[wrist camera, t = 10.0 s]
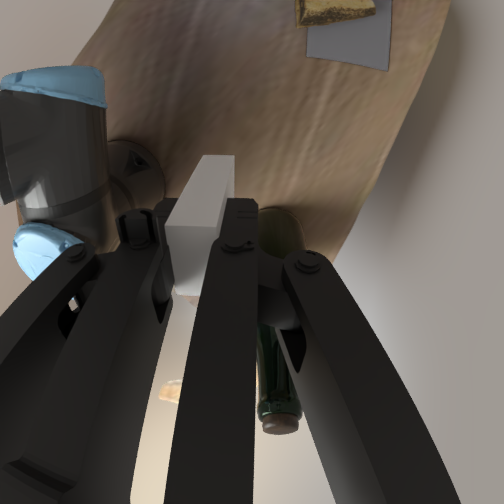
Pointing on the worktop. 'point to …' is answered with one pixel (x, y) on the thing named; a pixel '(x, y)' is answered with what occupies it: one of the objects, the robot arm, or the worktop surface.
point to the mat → (355, 39)
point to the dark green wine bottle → (268, 347)
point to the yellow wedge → (331, 11)
